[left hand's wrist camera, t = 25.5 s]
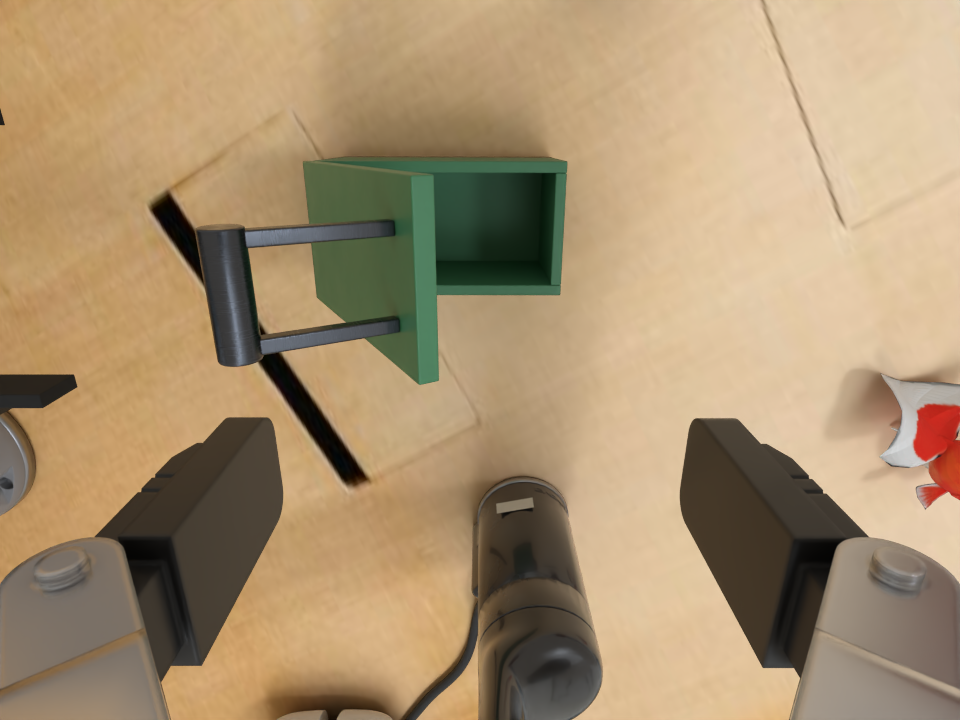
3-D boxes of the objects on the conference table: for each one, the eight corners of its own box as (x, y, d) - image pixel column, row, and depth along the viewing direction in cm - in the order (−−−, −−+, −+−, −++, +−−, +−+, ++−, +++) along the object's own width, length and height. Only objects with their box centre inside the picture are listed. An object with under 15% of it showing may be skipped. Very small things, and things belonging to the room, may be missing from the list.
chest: (550, 157, 47) (567, 161, 38) (545, 267, 50) (560, 295, 41) (344, 156, 47) (312, 160, 38) (353, 267, 50) (325, 295, 41)
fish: (885, 543, 55) (989, 560, 45) (808, 396, 57) (892, 382, 47) (967, 494, 57) (1083, 501, 48) (891, 354, 59) (987, 332, 49)
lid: (434, 174, 23) (190, 181, 19) (439, 381, 27) (233, 425, 22) (318, 160, 38) (165, 163, 34) (331, 296, 41) (193, 313, 37)
